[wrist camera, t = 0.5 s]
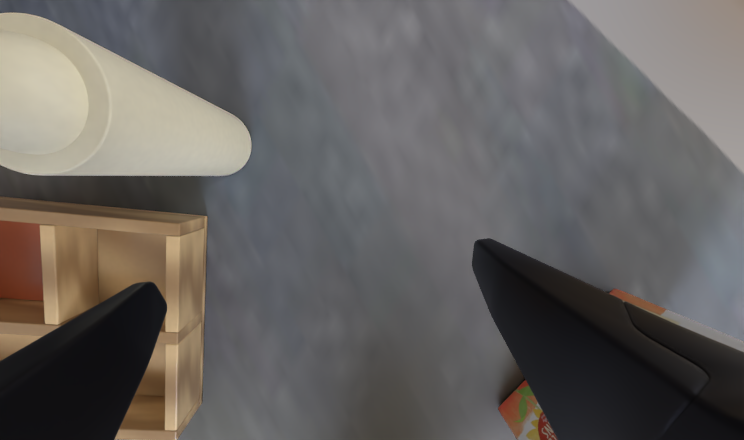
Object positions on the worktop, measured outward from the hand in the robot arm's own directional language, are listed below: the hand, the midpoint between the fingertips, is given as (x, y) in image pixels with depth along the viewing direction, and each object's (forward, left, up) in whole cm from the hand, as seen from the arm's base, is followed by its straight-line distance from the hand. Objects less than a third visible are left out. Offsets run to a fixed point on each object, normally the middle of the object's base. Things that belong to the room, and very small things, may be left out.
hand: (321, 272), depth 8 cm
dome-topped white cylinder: (+4, +9, -13) cm, 16 cm away
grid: (-9, +17, -13) cm, 23 cm away
